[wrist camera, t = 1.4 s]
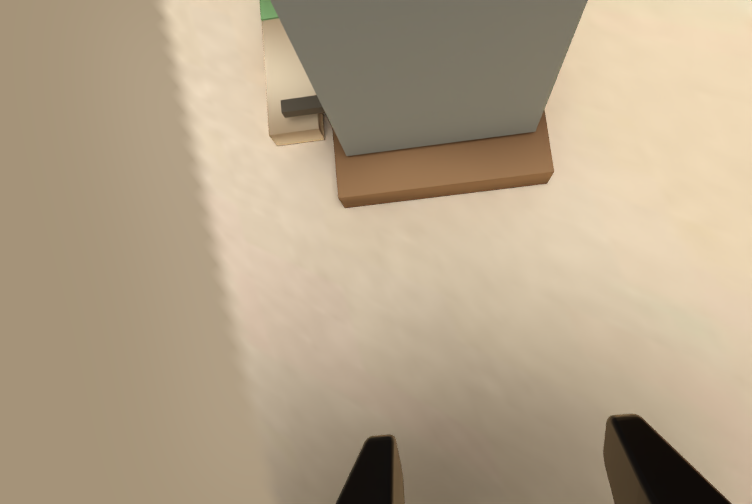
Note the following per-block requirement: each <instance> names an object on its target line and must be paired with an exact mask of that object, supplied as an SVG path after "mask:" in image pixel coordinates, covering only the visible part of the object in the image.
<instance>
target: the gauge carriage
mask: <svg viewBox="0 0 752 504" xmlns="http://www.w3.org/2000/svg"><path fill="white" fill-rule="evenodd" d="M270 1H271V3H272V5H273V7H274V9H275V11H276V13H277V15H278V17H279V19H280V21H281V23H282V25H283V27H284V29H285V32H286V34H287V36H288V38H289V40H290V42H291V44H292V46H293V48H294V50H295V52H296V54H297V56H298V58H299V60H300V62H301V64H302V66H303V68H304V70H305V72H306V74H307V76H308V78H309V80H310V82H311V84H312V87H313V89H314V91H315V93H316V95H314V96H307V97H300V98H292V99H285V100H281V113H282V114H283V116H284V117H285V118H288V117H295V116H303V115H310V114H317V113H324V112H325V113H326V115H327V117H328V119H329V121H330V123H331V125H332V127H333V129H334V131H335V133H336V135H337V137H338V140H339V142H340V144H341V146H342V148H343V150H344V152H345V154H346V156H352V155H360V154H368V153H375V152H383V151H391V150H398V149H406V148H414V147H421V146H429V145H437V144H445V143H452V142H460V141H468V140H475V139H483V138H491V137H498V136H506V135H514V134H521V133H529V132H535V131H536V129H537V126H538V124H539V121H540V119H541V116H542V114H543V111H544V109H545V106H546V104H547V101H548V99H549V96H550V94H551V91H552V89H553V86H554V84H555V81H556V79H557V76H558V73H559V71H560V68H561V66H562V63H563V61H564V58H565V56H566V53H567V51H568V48H569V46H570V43H571V41H572V38H573V36H574V33H575V31H576V28H577V26H578V23H579V21H580V18H581V16H582V13H583V11H584V8H585V6H586V3H587V1H588V0H270Z"/></svg>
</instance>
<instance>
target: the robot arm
mask: <svg viewBox="0 0 752 504" xmlns="http://www.w3.org/2000/svg"><path fill="white" fill-rule="evenodd" d="M603 454H604V462H605V467H606V471H607V475H608V479H609V483H610V487H611V491H612V495H613V499H614V502H615V504H731V503H730V502H729V501H728V500H727V499H726V498H725V497H724V496H723V495H722V494H721V493H720V492H719V491H718V490H717V489H716V488H715V487H714V486H713V485H712V484H711V483H710V482H708V481H707V480H706V479H705V478H704V477H703V476H702V475H701V474H700V473H699V472H698V471H697V470H696V469H695V468H694V467H693V466H692V465H691V464H690V463H689V462H688V461H687V460H686V459H684V458H683V457H682V456H681V455H680V454H679V453H678V452H677V451H676V450H675V449H674V448H673V447H672V446H671V445H670V444H669V443H668V442H667V441H666V440H665V439H664V438H663V437H662V436H660V435H659V434H658V433H657V432H656V431H655V430H654V429H653V428H652V427H651V426H650V425H649V424H648V423H647V422H646V421H645V420H644V419H643V418H642V417H640V416H639V415H636V414H623V415H612V416H610V417H609V418H608V419H607V422H606V431H605V440H604V450H603ZM336 504H405V502H404V486H403V474H402V467H401V462H400V457H399V453H398V448H397V443H396V439H395V437H394V436H393V435H390V434H389V435H378V436H370V437H369V438H367V440H366V441H365V443H364V445H363V447H362V449H361V451H360V453H359V455H358V457H357V460H356V462H355V464H354V466H353V468H352V470H351V472H350V474H349V476H348V479H347V481H346V483H345V485H344V487H343V489H342V491H341V493H340V495H339V498H338V500H337V502H336Z"/></svg>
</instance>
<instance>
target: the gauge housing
mask: <svg viewBox="0 0 752 504" xmlns="http://www.w3.org/2000/svg"><path fill="white" fill-rule="evenodd" d="M260 12H261V20H262V33H263V49H264V64H265V80H266V95H267V111H268V126H269V136H270V137H271V138H272V140H273V141H274V142H275V143H276V145H277V146H280V145H288V144H295V143H303V142H310V141H318V140H325V138H324V126H323V114H322V113H317V114H310V115H303V116H295V117H288V118H285V117H284V116H283V114H282V113H281V100H285V99H292V98H300V97H307V96H314V95H316V93H315V91H314V89H313V87H312V84H311V82H310V80H309V78H308V76H307V74H306V72H305V70H304V68H303V66H302V64H301V62H300V60H299V58H298V56H297V54H296V52H295V50H294V48H293V46H292V44H291V42H290V40H289V38H288V36H287V34H286V32H285V29H284V27H283V25H282V23H281V21H280V19H279V17H278V15H277V13H276V11H275V9H274V7H273V5H272V3H271V1H270V0H260ZM332 128H333V127H332ZM333 140H334V152H335V163H336V175H337V187H338V198H339V200H340V201H341V203H342V204H343V206H344V207H345V208H349V207H357V206H365V205H374V204H382V203H390V202H398V201H406V200H415V199H423V198H431V197H439V196H447V195H456V194H464V193H472V192H480V191H489V190H497V189H505V188H513V187H521V186H530V185H538V184H546V183H548V181H549V179H550V178H551V176H552V174H553V173H554V168H553V162H552V155H551V149H550V143H549V136H548V130H547V123H546V117H545V110H544V111H543V114H542V116H541V119H540V121H539V124H538V126H537V129H536V131H535V132H529V133H521V134H514V135H506V136H498V137H491V138H483V139H475V140H468V141H460V142H452V143H445V144H437V145H429V146H421V147H414V148H406V149H398V150H391V151H383V152H375V153H368V154H360V155H352V156H346V154H345V152H344V150H343V148H342V146H341V144H340V142H339V140H338V137H337V135H336V133H335V131H334V129H333Z"/></svg>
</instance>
